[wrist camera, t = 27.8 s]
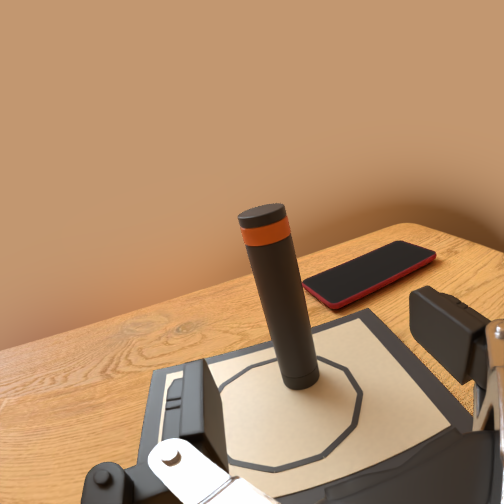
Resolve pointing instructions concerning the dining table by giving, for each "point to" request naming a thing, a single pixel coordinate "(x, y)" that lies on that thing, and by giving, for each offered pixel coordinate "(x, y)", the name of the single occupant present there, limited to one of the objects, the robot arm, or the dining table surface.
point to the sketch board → (320, 410)
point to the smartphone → (367, 273)
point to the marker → (281, 292)
